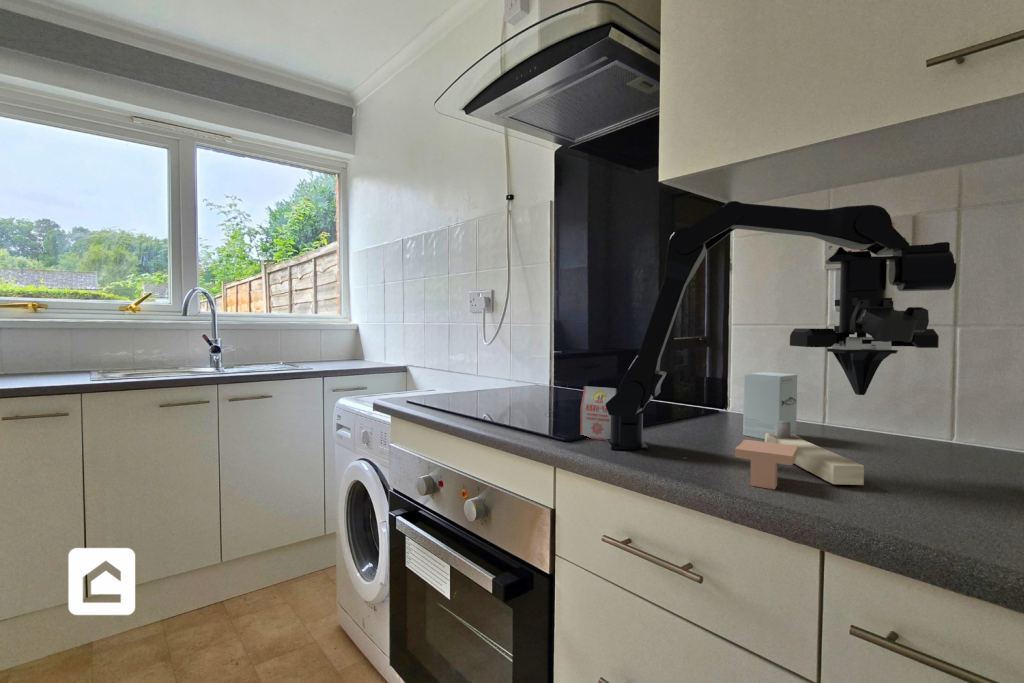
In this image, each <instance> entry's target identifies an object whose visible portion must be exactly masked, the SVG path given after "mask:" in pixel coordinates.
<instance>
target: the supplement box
mask: <svg viewBox="0 0 1024 683" xmlns="http://www.w3.org/2000/svg"><path fill="white" fill-rule="evenodd" d="M797 405H798V374H795V373H785V372H784V373H781V372H763V371H762V372H750V373H749V372H748V373H744V374H743V411H742V412H743V418H742V421H743V422H742V424H743V425H742V426H743V427H742V436H745V437H751V438H755V439H761V440H765V433H777V421H787V422H790V435H795V436H797V415H798V414H797V413H798V412H797V408H798V406H797Z"/></svg>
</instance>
